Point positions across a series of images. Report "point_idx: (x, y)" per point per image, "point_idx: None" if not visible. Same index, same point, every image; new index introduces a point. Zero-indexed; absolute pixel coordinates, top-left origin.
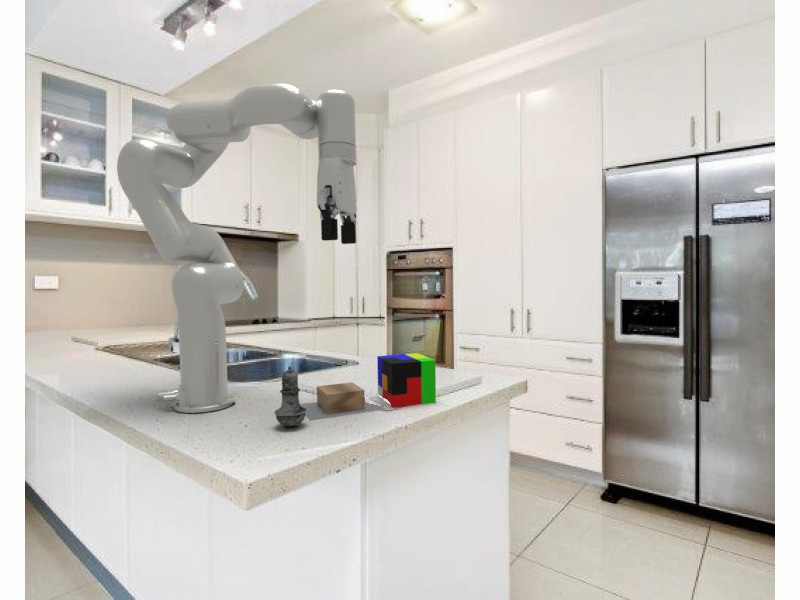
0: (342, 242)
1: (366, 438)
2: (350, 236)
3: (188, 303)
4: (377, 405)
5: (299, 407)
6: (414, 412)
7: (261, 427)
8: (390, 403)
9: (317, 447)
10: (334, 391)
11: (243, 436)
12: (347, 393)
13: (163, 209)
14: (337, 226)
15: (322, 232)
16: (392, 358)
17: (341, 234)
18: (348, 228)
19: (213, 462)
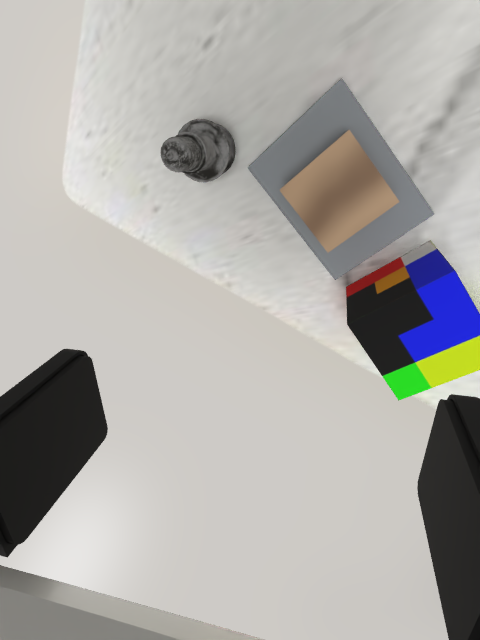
0: (439, 406)
1: (211, 279)
2: (436, 510)
3: None
4: (356, 259)
5: (200, 171)
6: (340, 322)
7: (207, 84)
8: (357, 284)
9: (163, 226)
10: (308, 194)
11: (162, 81)
12: (306, 224)
13: None
14: (47, 502)
15: (34, 381)
16: (418, 313)
17: (465, 458)
18: (461, 581)
19: (75, 111)
